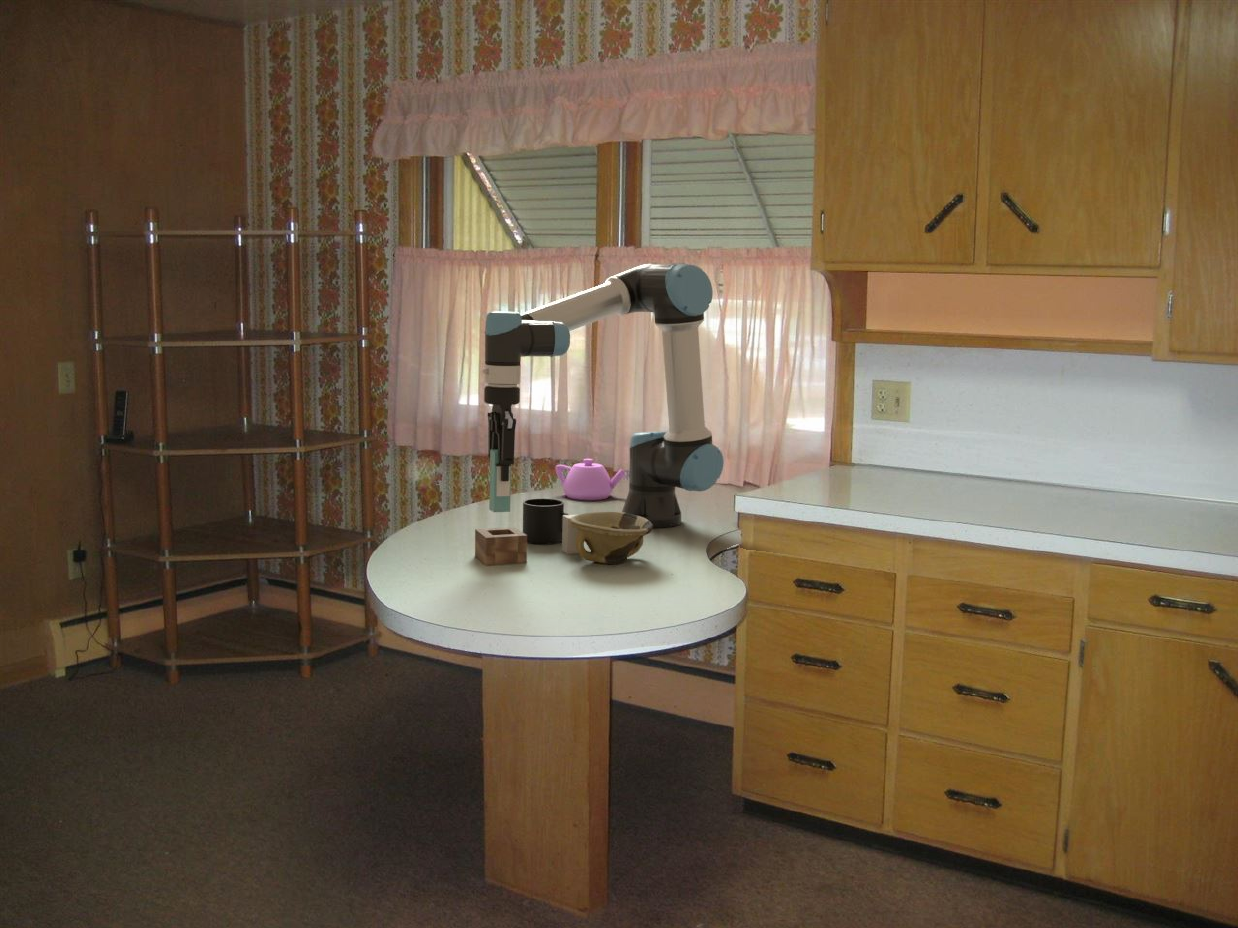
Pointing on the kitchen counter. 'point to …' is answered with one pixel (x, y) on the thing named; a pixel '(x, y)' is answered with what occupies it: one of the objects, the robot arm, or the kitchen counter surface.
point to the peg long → (496, 501)
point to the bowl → (609, 535)
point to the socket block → (500, 546)
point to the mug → (543, 520)
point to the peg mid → (569, 535)
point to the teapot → (588, 480)
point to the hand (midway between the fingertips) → (500, 493)
